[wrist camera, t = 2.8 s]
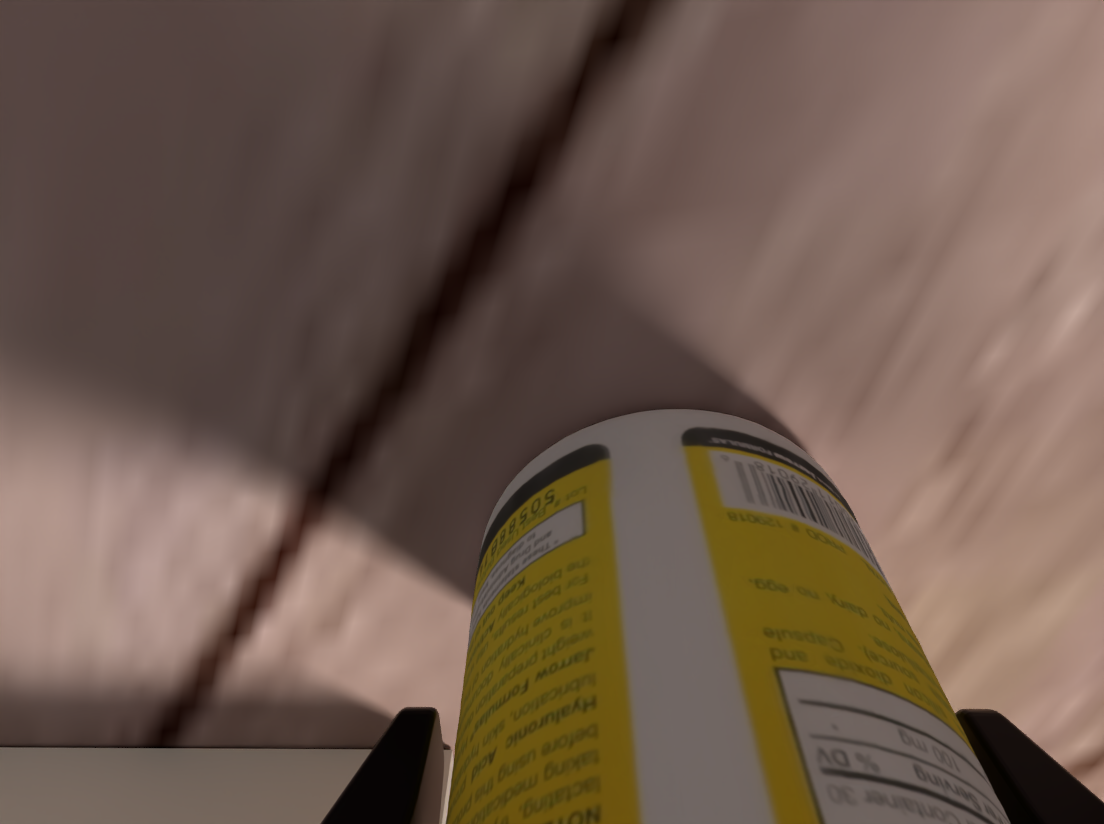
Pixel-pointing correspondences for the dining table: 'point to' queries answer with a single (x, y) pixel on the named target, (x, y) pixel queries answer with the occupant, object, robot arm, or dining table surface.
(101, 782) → the hole plate
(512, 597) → the supplement bottle
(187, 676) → the dining table surface
